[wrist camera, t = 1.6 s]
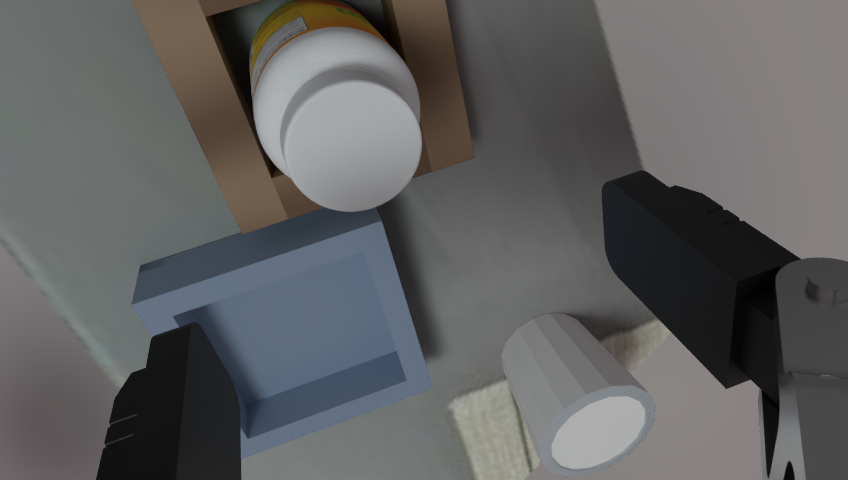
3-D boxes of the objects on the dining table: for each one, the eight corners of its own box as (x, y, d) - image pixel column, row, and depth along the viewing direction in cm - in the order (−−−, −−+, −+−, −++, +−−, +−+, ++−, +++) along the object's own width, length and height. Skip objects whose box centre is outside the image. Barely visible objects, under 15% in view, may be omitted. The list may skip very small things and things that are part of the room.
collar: (129, -38, 21) (118, -29, 19) (406, -114, 22) (424, -113, 20) (241, 207, 27) (242, 234, 25) (457, 137, 28) (474, 157, 26)
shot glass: (601, 359, 40) (664, 442, 34) (508, 405, 39) (555, 496, 34) (581, 286, 36) (649, 366, 30) (477, 336, 35) (525, 426, 30)
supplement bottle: (405, 61, 26) (482, 145, 18) (318, 147, 27) (355, 264, 19) (313, -39, 23) (356, 8, 15) (219, 62, 24) (214, 157, 16)
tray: (140, 265, 27) (131, 304, 25) (368, 190, 29) (381, 220, 26) (233, 418, 34) (233, 461, 31) (418, 351, 35) (432, 387, 32)
